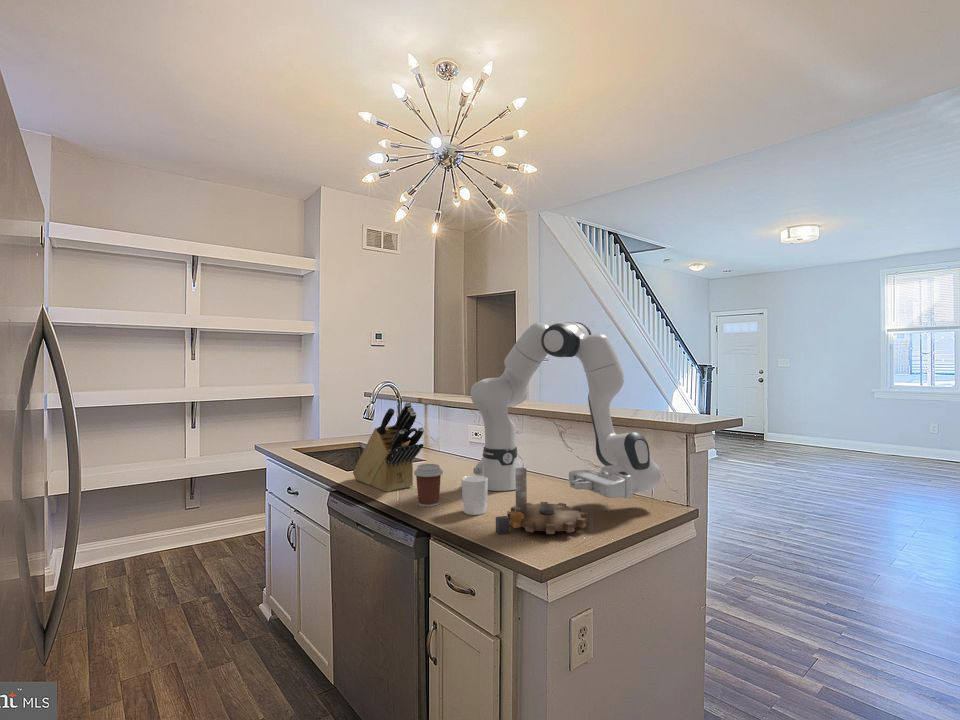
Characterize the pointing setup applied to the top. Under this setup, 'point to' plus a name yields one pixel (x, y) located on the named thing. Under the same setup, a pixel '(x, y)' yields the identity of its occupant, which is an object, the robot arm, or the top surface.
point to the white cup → (474, 494)
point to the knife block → (390, 453)
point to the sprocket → (542, 512)
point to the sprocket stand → (502, 525)
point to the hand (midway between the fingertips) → (572, 485)
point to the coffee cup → (428, 484)
